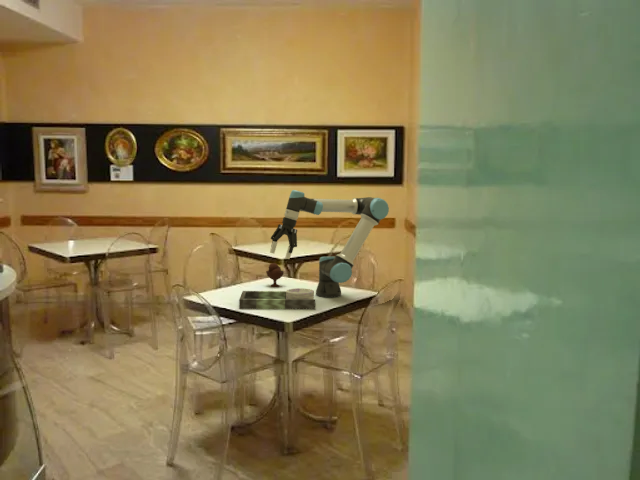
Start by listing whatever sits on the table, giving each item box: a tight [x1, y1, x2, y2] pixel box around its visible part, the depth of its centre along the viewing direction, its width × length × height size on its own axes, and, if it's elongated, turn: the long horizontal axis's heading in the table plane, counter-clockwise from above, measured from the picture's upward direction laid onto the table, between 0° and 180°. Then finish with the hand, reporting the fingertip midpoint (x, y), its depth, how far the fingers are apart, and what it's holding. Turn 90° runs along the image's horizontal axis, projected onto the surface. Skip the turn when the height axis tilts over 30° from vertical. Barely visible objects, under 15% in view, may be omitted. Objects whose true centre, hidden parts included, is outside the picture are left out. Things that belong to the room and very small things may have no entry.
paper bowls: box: [285, 288, 315, 299], centre depth 314 cm, size 15×15×8 cm
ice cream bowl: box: [265, 262, 285, 288], centre depth 363 cm, size 11×11×15 cm
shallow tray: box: [238, 290, 316, 310], centre depth 314 cm, size 40×22×5 cm, turn 93°
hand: (279, 255), depth 313 cm, fingers open, 13 cm apart
